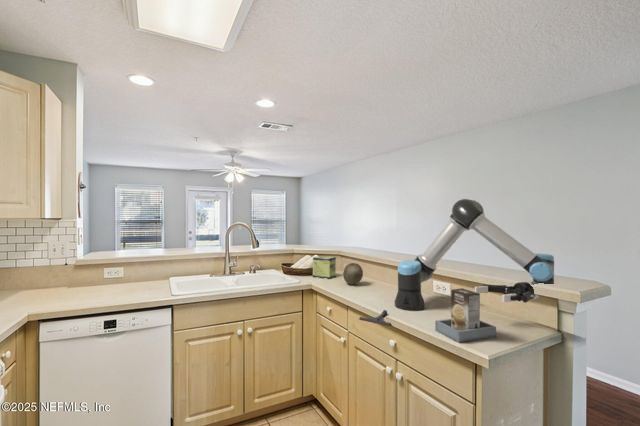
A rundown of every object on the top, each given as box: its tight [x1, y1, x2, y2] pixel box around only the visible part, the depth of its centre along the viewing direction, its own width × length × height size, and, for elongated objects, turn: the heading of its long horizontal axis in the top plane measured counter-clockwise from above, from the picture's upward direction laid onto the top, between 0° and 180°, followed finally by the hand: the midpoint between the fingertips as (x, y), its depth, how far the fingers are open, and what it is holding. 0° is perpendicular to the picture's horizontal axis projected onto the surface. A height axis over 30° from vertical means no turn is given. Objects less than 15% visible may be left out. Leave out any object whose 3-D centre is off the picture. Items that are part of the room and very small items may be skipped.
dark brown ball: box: [342, 262, 364, 286], centre depth 209 cm, size 14×14×15 cm
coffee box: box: [450, 287, 481, 331], centre depth 121 cm, size 9×6×16 cm
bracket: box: [358, 309, 392, 327], centre depth 139 cm, size 14×15×3 cm
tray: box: [434, 318, 497, 344], centre depth 121 cm, size 13×18×4 cm
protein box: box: [312, 256, 337, 280], centre depth 237 cm, size 10×16×16 cm
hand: (488, 294), depth 124 cm, fingers open, 13 cm apart
